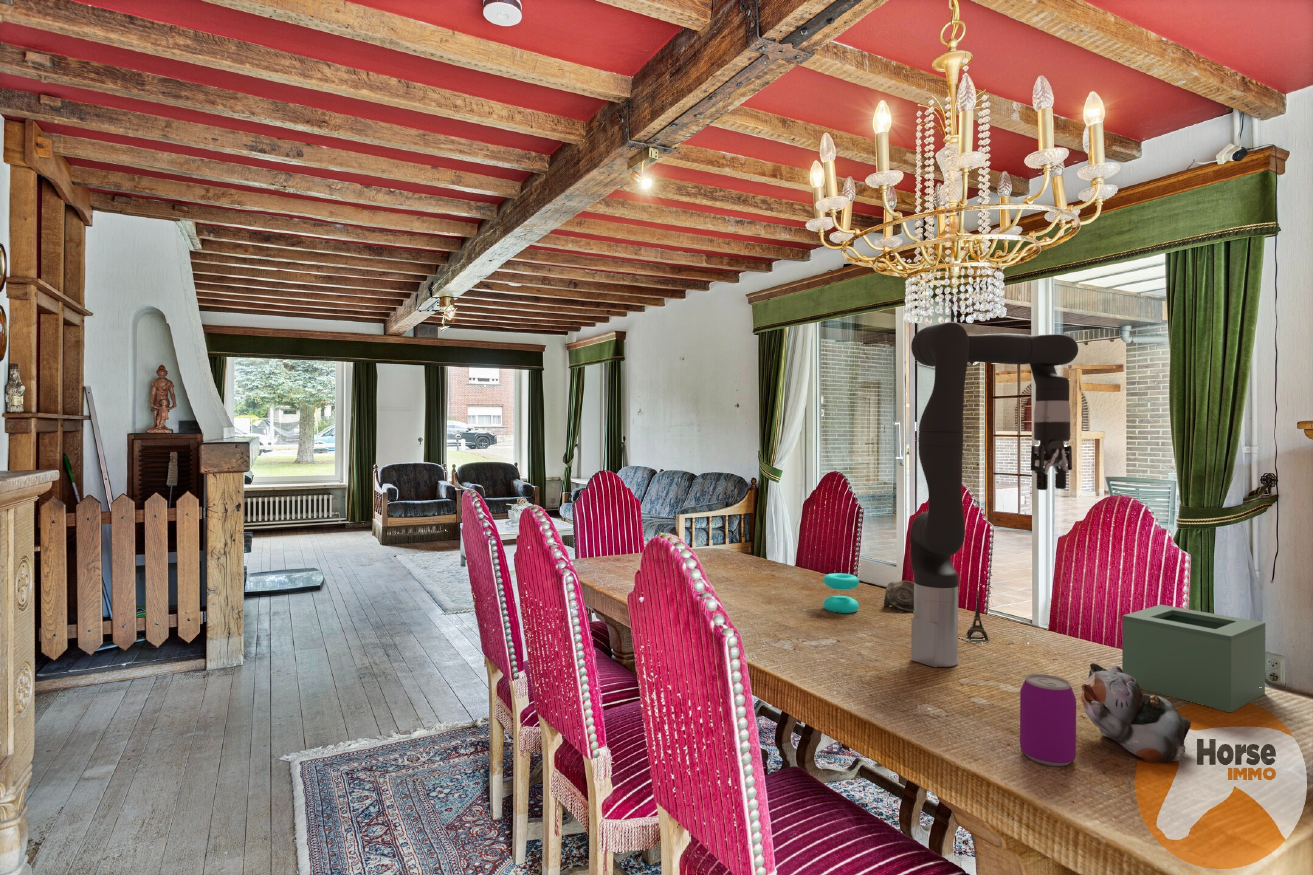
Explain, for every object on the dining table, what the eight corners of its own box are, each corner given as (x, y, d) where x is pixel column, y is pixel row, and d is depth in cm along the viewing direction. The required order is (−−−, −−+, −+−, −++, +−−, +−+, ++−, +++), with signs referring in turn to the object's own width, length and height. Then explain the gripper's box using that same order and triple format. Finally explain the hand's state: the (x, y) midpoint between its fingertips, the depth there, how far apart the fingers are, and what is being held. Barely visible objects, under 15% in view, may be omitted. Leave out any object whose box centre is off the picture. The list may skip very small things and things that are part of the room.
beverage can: (1087, 767, 108) (1087, 688, 108) (1038, 769, 107) (1039, 689, 107) (1055, 745, 115) (1055, 671, 115) (1009, 747, 115) (1010, 672, 115)
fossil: (901, 612, 201) (889, 578, 205) (882, 621, 209) (870, 588, 213) (931, 608, 205) (918, 574, 210) (911, 616, 213) (899, 584, 217)
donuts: (846, 580, 199) (816, 575, 207) (846, 616, 199) (816, 609, 207) (865, 575, 206) (836, 571, 213) (865, 610, 206) (835, 604, 213)
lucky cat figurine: (1177, 773, 106) (1125, 686, 108) (1098, 775, 115) (1052, 695, 117) (1204, 720, 115) (1156, 641, 117) (1129, 726, 125) (1085, 652, 127)
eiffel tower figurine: (937, 633, 184) (937, 582, 184) (967, 630, 188) (967, 579, 188) (984, 649, 170) (984, 593, 170) (1015, 645, 174) (1015, 591, 174)
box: (1230, 712, 130) (1231, 636, 130) (1122, 684, 145) (1122, 615, 145) (1264, 693, 140) (1265, 622, 140) (1160, 668, 155) (1160, 604, 155)
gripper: (1052, 419, 161) (1052, 491, 161) (1083, 421, 169) (1083, 489, 169) (1020, 420, 167) (1019, 489, 167) (1051, 421, 175) (1050, 487, 175)
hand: (1051, 489), depth 168 cm, fingers open, 8 cm apart
